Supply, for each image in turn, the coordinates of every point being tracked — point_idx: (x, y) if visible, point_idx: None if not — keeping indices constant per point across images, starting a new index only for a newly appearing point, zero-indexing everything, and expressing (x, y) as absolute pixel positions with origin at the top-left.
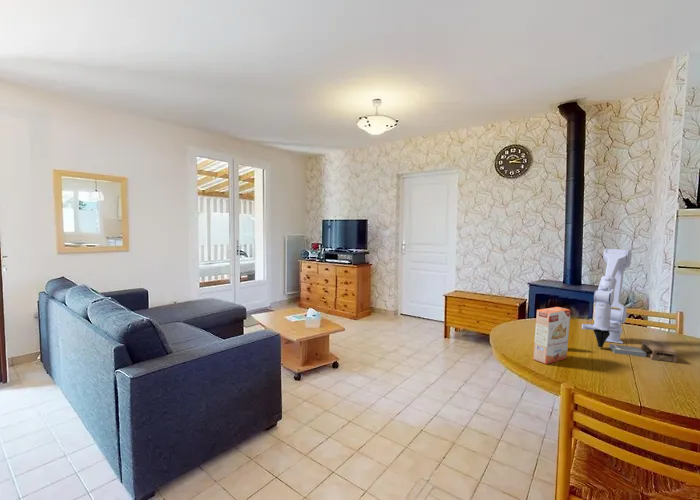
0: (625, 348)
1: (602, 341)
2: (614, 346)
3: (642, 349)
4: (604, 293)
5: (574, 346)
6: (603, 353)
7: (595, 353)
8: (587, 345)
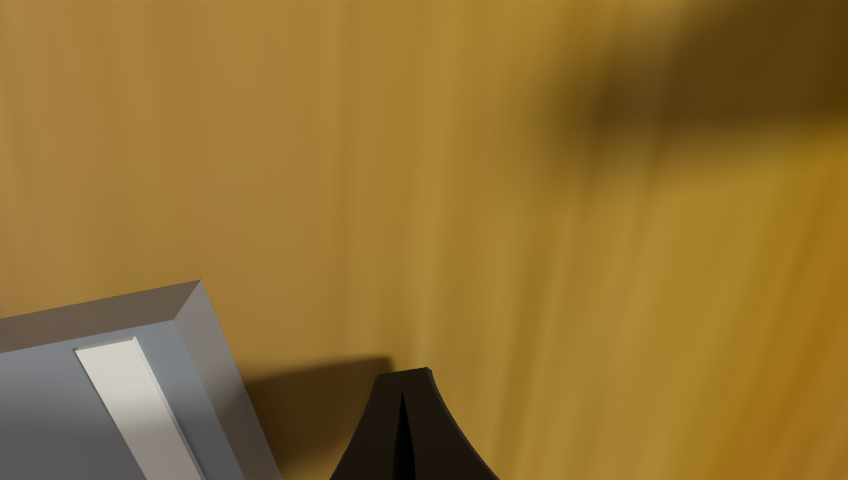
0: (23, 467)
1: (386, 444)
2: (190, 457)
3: None
4: None
5: (783, 260)
6: (371, 147)
7: (510, 51)
8: (565, 421)
